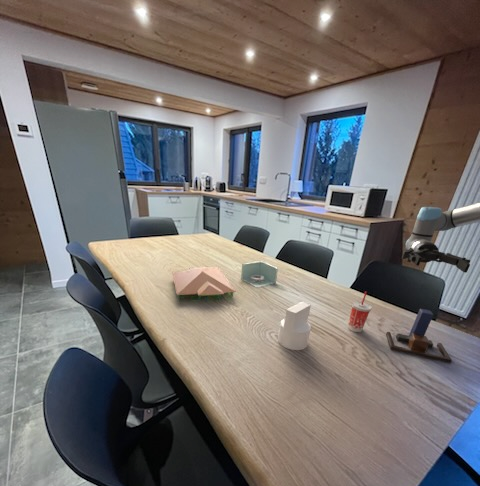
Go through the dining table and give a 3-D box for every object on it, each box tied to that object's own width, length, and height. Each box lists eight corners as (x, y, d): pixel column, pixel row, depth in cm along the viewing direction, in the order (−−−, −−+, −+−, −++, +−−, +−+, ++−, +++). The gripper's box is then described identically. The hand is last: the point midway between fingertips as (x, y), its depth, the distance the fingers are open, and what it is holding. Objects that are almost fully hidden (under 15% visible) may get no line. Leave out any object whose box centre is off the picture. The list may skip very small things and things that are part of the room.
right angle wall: (241, 278, 128) (242, 263, 125) (259, 275, 135) (261, 261, 132) (256, 287, 120) (258, 271, 117) (275, 283, 127) (277, 268, 123)
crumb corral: (439, 346, 85) (441, 343, 85) (450, 363, 77) (452, 360, 76) (386, 334, 90) (387, 331, 89) (390, 349, 81) (391, 346, 81)
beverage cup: (367, 330, 91) (379, 293, 85) (358, 335, 88) (370, 296, 82) (351, 322, 96) (362, 286, 90) (342, 326, 92) (352, 290, 86)
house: (177, 305, 97) (177, 285, 94) (171, 275, 126) (171, 258, 122) (237, 302, 104) (238, 282, 101) (218, 273, 132) (219, 258, 129)
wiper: (429, 344, 86) (443, 312, 81) (432, 348, 83) (447, 317, 78) (395, 336, 89) (407, 306, 84) (397, 341, 86) (409, 310, 81)
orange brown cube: (421, 346, 84) (426, 336, 82) (424, 353, 81) (429, 342, 79) (407, 343, 85) (411, 333, 84) (410, 350, 82) (414, 339, 80)
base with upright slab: (297, 353, 76) (304, 317, 71) (272, 340, 81) (277, 305, 76) (312, 342, 82) (320, 307, 77) (288, 330, 87) (294, 297, 82)
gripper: (457, 265, 102) (482, 282, 84) (386, 255, 109) (396, 269, 90) (465, 246, 99) (494, 259, 80) (392, 237, 105) (403, 247, 87)
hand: (442, 265), depth 85 cm, fingers open, 13 cm apart
